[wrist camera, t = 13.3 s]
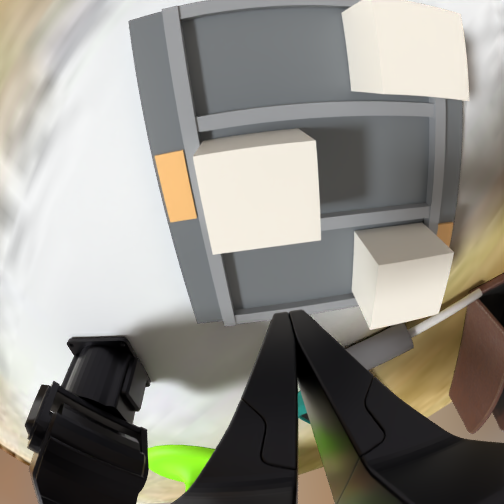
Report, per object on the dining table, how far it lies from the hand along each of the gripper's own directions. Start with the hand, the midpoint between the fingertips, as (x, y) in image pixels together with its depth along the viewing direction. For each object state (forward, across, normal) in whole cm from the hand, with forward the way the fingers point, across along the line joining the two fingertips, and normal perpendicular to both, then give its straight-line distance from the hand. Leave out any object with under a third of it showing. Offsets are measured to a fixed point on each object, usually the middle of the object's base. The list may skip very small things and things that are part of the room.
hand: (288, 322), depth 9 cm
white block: (+10, -8, +5) cm, 13 cm away
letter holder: (+11, -26, +19) cm, 34 cm away
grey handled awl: (+10, -11, +12) cm, 19 cm away
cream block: (+10, 0, -2) cm, 10 cm away
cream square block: (+10, -8, -8) cm, 15 cm away
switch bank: (+11, -4, -2) cm, 12 cm away
